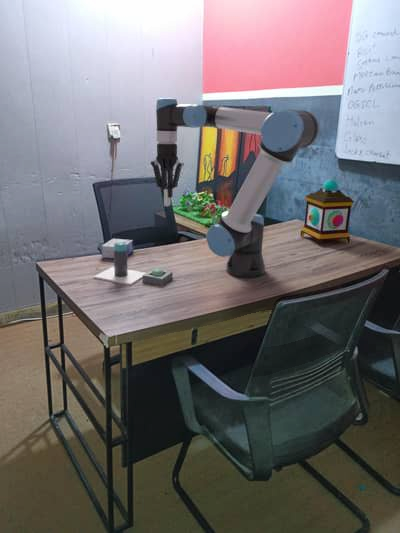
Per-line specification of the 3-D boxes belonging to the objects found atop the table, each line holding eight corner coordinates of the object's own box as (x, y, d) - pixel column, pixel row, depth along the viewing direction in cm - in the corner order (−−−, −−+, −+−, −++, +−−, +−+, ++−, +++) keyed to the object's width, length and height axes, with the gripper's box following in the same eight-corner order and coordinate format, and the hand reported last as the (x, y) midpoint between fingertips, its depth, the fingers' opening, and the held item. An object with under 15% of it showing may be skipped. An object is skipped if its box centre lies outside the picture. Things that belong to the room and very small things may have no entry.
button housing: (172, 278, 161) (172, 271, 161) (162, 285, 154) (162, 278, 154) (153, 274, 164) (153, 268, 164) (142, 281, 158) (142, 275, 157)
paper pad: (147, 274, 164) (147, 273, 164) (130, 285, 154) (130, 283, 154) (112, 268, 170) (112, 266, 170) (93, 277, 160) (93, 276, 160)
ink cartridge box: (123, 260, 180) (136, 249, 193) (123, 247, 178) (135, 237, 191) (101, 258, 182) (115, 247, 195) (100, 245, 180) (114, 236, 193)
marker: (130, 273, 163) (129, 243, 159) (122, 277, 159) (121, 246, 155) (119, 271, 165) (118, 241, 161) (112, 275, 161) (110, 244, 157)
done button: (165, 277, 160) (165, 269, 159) (159, 280, 157) (159, 273, 156) (155, 275, 162) (155, 268, 161) (150, 279, 158) (150, 271, 157)
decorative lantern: (296, 236, 221) (302, 176, 211) (329, 233, 227) (337, 175, 217) (317, 247, 203) (325, 183, 193) (353, 244, 209) (362, 182, 199)
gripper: (187, 143, 162) (186, 205, 170) (155, 141, 166) (156, 202, 174) (178, 144, 155) (178, 209, 163) (146, 142, 160) (147, 205, 168)
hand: (167, 205), depth 169 cm, fingers closed
